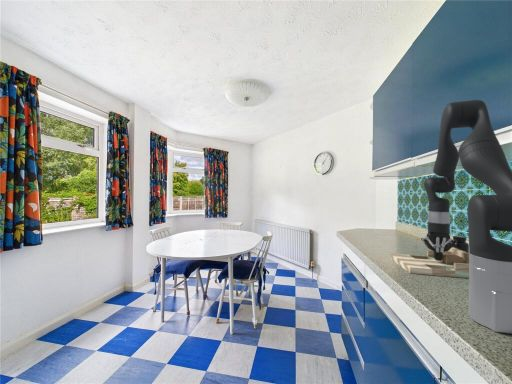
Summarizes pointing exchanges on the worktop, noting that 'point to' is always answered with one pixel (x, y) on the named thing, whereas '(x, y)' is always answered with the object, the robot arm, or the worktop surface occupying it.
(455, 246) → the supplement bottle
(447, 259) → the walnut block
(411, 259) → the box
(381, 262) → the worktop surface
